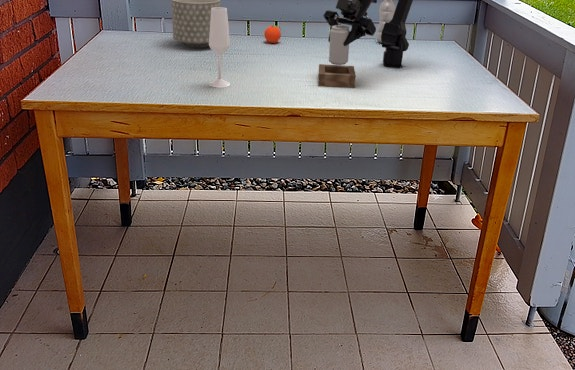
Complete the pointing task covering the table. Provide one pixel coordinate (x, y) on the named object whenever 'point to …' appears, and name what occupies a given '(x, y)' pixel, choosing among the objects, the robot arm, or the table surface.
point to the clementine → (272, 34)
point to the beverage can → (338, 45)
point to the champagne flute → (219, 40)
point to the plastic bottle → (385, 15)
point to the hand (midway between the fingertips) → (336, 43)
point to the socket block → (336, 76)
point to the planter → (192, 21)
